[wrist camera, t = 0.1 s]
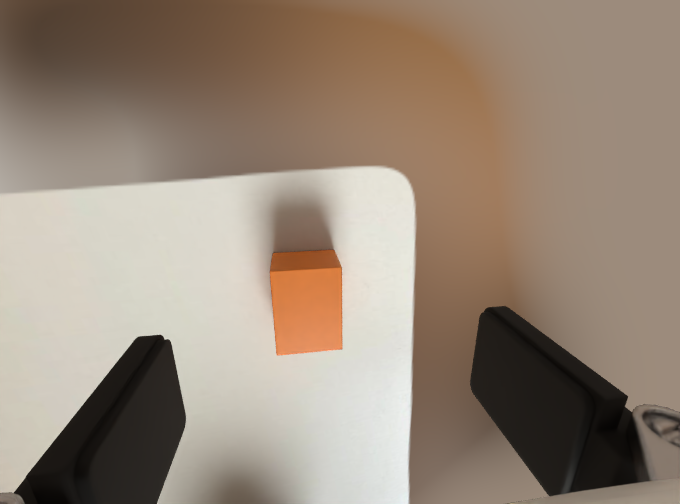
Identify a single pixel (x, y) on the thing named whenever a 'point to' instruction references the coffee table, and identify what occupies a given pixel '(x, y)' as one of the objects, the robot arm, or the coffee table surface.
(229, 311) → the coffee table surface
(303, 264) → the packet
